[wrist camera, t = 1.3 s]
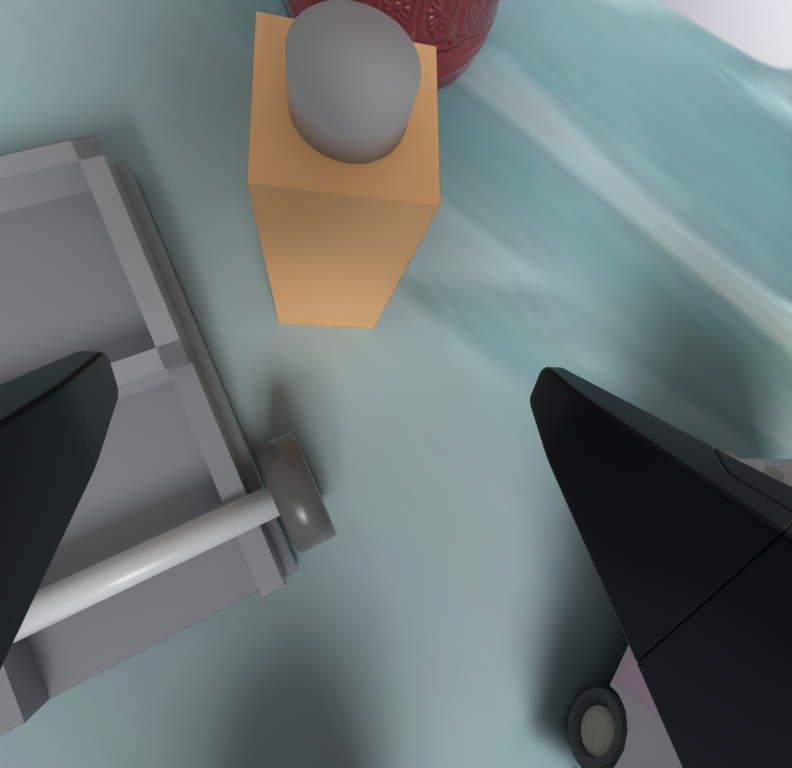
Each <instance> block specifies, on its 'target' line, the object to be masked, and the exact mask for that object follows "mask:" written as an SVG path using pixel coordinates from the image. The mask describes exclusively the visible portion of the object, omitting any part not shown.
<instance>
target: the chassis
mask: <svg viewBox="0 0 792 768" xmlns="http://www.w3.org/2000/svg"><path fill="white" fill-rule="evenodd" d="M77 351H101V352H104V353H105V354H107V356H108V357H109V360H110V363H111V366H112V369H113V373H114V376H115V379H116V382H117V386H118V400H117V403H116V406H115V409H114V412H113V416H112V419H111V422H110V425H109V428H108V431H107V434H106V438H105V441H104V444H103V447H102V450H101V453H100V456H99V459H98V462H97V465H96V467H95V469H94V472H93V474H92V476H91V479H90V481H89V483H88V485H87V487H86V489H85V491H84V493H83V496H82V498H81V500H80V502H79V504H78V506H77V508H76V510H75V513H74V515H73V517H72V519H71V521H70V523H69V525H68V527H67V530H66V532H65V534H64V536H63V538H62V540H61V542H60V544H59V546H58V549H57V551H56V553H55V555H54V557H53V559H52V561H51V563H50V566H49V568H48V570H47V572H46V574H45V576H44V578H43V580H42V583H41V585H40V587H39V589H38V591H37V593H36V595H35V597H34V600H33V602H32V604H31V606H30V608H29V610H28V612H27V614H26V617H25V619H24V621H23V623H22V625H21V627H20V629H19V631H18V633H17V636H16V638H15V640H14V642H13V644H12V646H11V648H10V650H9V653H8V655H7V657H6V659H5V661H4V663H3V665H2V667H1V670H0V735H2V734H4V733H6V732H8V731H10V730H12V729H13V728H15V727H17V726H19V725H21V724H23V723H25V722H26V721H27V720H28V719H29V718H30V717H31V716H32V715H33V714H34V713H35V712H36V711H37V710H38V709H39V708H40V707H41V706H42V705H43V704H44V703H45V702H47V701H48V700H49V699H50V698H52V697H54V696H56V695H58V694H60V693H62V692H64V691H66V690H67V689H69V688H71V687H73V686H75V685H77V684H79V683H81V682H83V681H85V680H87V679H89V678H91V677H93V676H95V675H96V674H98V673H100V672H102V671H104V670H106V669H108V668H110V667H112V666H114V665H116V664H118V663H120V662H122V661H123V660H125V659H127V658H129V657H131V656H133V655H135V654H137V653H139V652H141V651H143V650H145V649H147V648H149V647H151V646H152V645H154V644H156V643H158V642H160V641H162V640H164V639H166V638H168V637H170V636H172V635H174V634H176V633H178V632H180V631H181V630H183V629H185V628H187V627H189V626H191V625H193V624H195V623H197V622H199V621H201V620H203V619H205V618H207V617H208V616H210V615H212V614H214V613H216V612H218V611H220V610H222V609H224V608H226V607H228V606H230V605H232V604H234V603H236V602H237V601H239V600H241V599H243V598H245V597H247V596H249V595H251V594H253V593H255V592H257V591H259V592H260V594H261V597H262V598H264V597H266V596H268V595H269V594H271V593H273V592H275V591H277V590H279V589H281V588H283V587H285V583H286V577H287V576H288V575H290V574H292V573H293V572H295V571H297V563H296V560H295V558H294V556H293V553H292V551H291V548H290V546H289V544H288V541H287V539H286V536H285V534H284V532H283V529H282V527H281V525H280V522H279V520H278V516H281V519H282V521H283V523H284V525H285V527H286V529H287V531H288V533H289V535H290V537H291V539H292V541H293V543H294V544H295V546H296V548H297V549H298V550H299V551H300V552H301V553H302V552H304V551H306V550H308V549H310V548H312V547H314V546H316V545H318V544H319V543H321V542H323V541H325V540H327V539H329V538H331V537H333V536H335V535H337V534H336V531H335V529H334V526H333V524H332V521H331V519H330V516H329V514H328V511H327V509H326V507H325V504H324V502H323V499H322V497H321V495H320V492H319V490H318V487H317V485H316V483H315V480H314V478H313V476H312V473H311V471H310V469H309V466H308V464H307V462H306V459H305V457H304V455H303V453H302V450H301V448H300V446H299V444H298V441H297V439H296V437H295V435H294V433H293V431H290V432H287V433H285V434H283V435H280V436H278V437H276V438H273V439H271V440H269V441H266V442H264V443H262V444H259V445H257V453H258V457H259V461H260V464H261V467H262V470H263V474H264V476H265V479H266V482H267V485H268V486H266V487H265V486H264V484H263V482H262V479H261V477H260V474H259V472H258V470H257V467H256V465H255V462H254V460H253V458H252V455H251V453H250V451H249V448H248V446H247V443H246V441H245V439H244V436H243V434H242V431H241V429H240V427H239V424H238V422H237V420H236V417H235V415H234V412H233V410H232V408H231V405H230V403H229V400H228V398H227V396H226V393H225V391H224V389H223V386H222V384H221V381H220V379H219V377H218V374H217V372H216V369H215V367H214V365H213V362H212V360H211V358H210V355H209V353H208V350H207V348H206V346H205V343H204V341H203V338H202V336H201V334H200V331H199V329H198V326H197V324H196V322H195V319H194V317H193V315H192V312H191V310H190V307H189V305H188V303H187V300H186V298H185V295H184V293H183V291H182V288H181V286H180V284H179V281H178V279H177V276H176V274H175V272H174V269H173V267H172V264H171V262H170V260H169V257H168V255H167V253H166V250H165V248H164V245H163V243H162V241H161V238H160V236H159V233H158V231H157V229H156V226H155V224H154V222H153V219H152V217H151V214H150V212H149V210H148V207H147V205H146V202H145V200H144V198H143V195H142V193H141V191H140V188H139V186H138V183H137V181H136V179H135V176H134V174H133V173H132V171H131V170H130V168H129V166H128V165H127V163H126V162H125V163H120V164H116V165H115V164H114V162H113V161H112V159H111V158H110V156H109V155H108V153H107V152H106V151H105V149H104V148H103V146H102V145H101V143H100V142H99V140H98V139H97V137H96V136H95V135H93V136H89V137H84V138H80V139H75V140H70V141H66V142H61V143H57V144H52V145H48V146H43V147H38V148H34V149H29V150H25V151H20V152H16V153H11V154H7V155H2V156H0V384H2V383H5V382H7V381H9V380H12V379H14V378H16V377H19V376H21V375H23V374H26V373H28V372H30V371H33V370H35V369H37V368H40V367H42V366H44V365H47V364H49V363H51V362H54V361H56V360H58V359H61V358H63V357H65V356H68V355H70V354H72V353H75V352H77Z"/></svg>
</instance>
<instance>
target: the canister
mask: <svg viewBox="0 0 792 768" xmlns="http://www.w3.org/2000/svg"><path fill="white" fill-rule="evenodd" d="M324 1H329V0H285V3H286V7H287V11H288V14H289V17H290V18H293V19H296V17H297V16H298V15H299V14H300V13H301V12H303V11H304V10H306V9H307V8H309V7H311V6H313V5H315V4H318V3H320V2H324ZM350 1H356V2H360V3H364V4H367V5H369V6H372V7H374V8H376V9H378V10H380V11H382V12H383V13H385V14H387V15H388V16H389V17H391V18H392V19H393V20H395V21H396V22H397V23H398V24H399V25H400V26H401V27H402V28H403V29H404V31H405V32H406V33H407V34H408V36H409V37H410V39H411V40H412V42H415V43H420V44H425V45H430V46H435V47H436V60H437V89H439V88H442V87H444V86H446V85H447V84H449V83H451V82H452V81H454V80H455V79H456V78H458V77H459V76H460V75H461V74H462V73H463V72H464V71H465V70H466V68H467V67H468V66H469V64H470V63H471V61H472V59H473V58H474V57H475V55H476V54H477V53H478V52H479V50H480V49H481V47H482V46H483V44H484V42H485V40H486V38H487V36H488V33H489V31H490V29H491V27H492V24H493V22H494V19H495V16H496V12H497V7H498V2H499V0H350Z"/></svg>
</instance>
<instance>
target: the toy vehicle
mask: <svg viewBox="0 0 792 768" xmlns="http://www.w3.org/2000/svg"><path fill="white" fill-rule="evenodd" d="M722 452H724V453H726V454H728V455H730V456H731V457H733V458H735V459H737V460H739V461H741V462H743V463H745V464H747V465H749V466H751V467H753V468H755V469H757V470H759V471H761V472H763V473H765V474H767V475H769V476H771V477H773V478H775V479H777V480H779V481H781V482H783V483H785V484H787V485H789V486H791V487H792V460H791V459H744V458H738V457H737V456H736V455H735V454H733V453H732V452H731V451H722ZM637 663H638V662H637V661H636V660H635V658H634V656H633V653H632V651H631V649H630V646H629V645H628V647H627V649H626V652H625V654H624V656H623V658H622V660H621V662H620V665H619V667H618V669H617V671H616V673H615V675H614V678H613V680H612V682H611V684H610V686H611V687H612V688H613V689H614V690H615V691H616V692H617V693H618V694H619V696H618V695H617V694H615V693H613V692H611V691H609V690H606V689H602V688H593V689H589V690H585V691H584V692H583V693H582V694H581V695H579V696H578V697H577V699H576V700H575V702H574V703H573V705H572V707H571V711H570V714H569V717H568V724H567V735H568V743H569V745H570V748H571V750H572V752H573V755H574V757H575V759H576V760H577V762H578V764H579V765H580V766H581V767H582V768H682V766H681V763H680V761H679V759H678V757H677V754H676V752H675V750H674V747H673V745H672V743H671V741H670V738H669V736H668V734H667V731H666V729H665V727H664V725H663V722H662V720H661V718H660V715H659V713H658V711H657V709H656V706H655V704H654V702H653V699H652V697H651V695H650V693H649V690H648V688H647V686H646V683H645V681H644V679H643V677H642V674H641V672H640V670H639V668H638V665H637ZM572 768H576V767H574V766H572Z"/></svg>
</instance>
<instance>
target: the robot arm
mask: <svg viewBox="0 0 792 768" xmlns="http://www.w3.org/2000/svg"><path fill="white" fill-rule="evenodd" d="M117 400H118V386H117V382H116V379H115V376H114V373H113V369H112V366H111V363H110V360H109V357H108V356H107V354H105V353H104V352H101V351H77V352H75V353H72V354H70V355H68V356H65V357H63V358H61V359H58V360H56V361H54V362H51V363H49V364H47V365H44V366H42V367H40V368H37V369H35V370H33V371H30V372H28V373H26V374H23V375H21V376H19V377H16V378H14V379H12V380H9V381H7V382H5V383H2V384H0V670H1V667H2V665H3V663H4V661H5V659H6V657H7V655H8V653H9V650H10V648H11V646H12V644H13V642H14V640H15V638H16V636H17V633H18V631H19V629H20V627H21V625H22V623H23V621H24V619H25V617H26V614H27V612H28V610H29V608H30V606H31V604H32V602H33V600H34V597H35V595H36V593H37V591H38V589H39V587H40V585H41V583H42V580H43V578H44V576H45V574H46V572H47V570H48V568H49V566H50V563H51V561H52V559H53V557H54V555H55V553H56V551H57V549H58V546H59V544H60V542H61V540H62V538H63V536H64V534H65V532H66V530H67V527H68V525H69V523H70V521H71V519H72V517H73V515H74V513H75V510H76V508H77V506H78V504H79V502H80V500H81V498H82V496H83V493H84V491H85V489H86V487H87V485H88V483H89V481H90V479H91V476H92V474H93V472H94V469H95V467H96V465H97V462H98V459H99V456H100V453H101V450H102V447H103V444H104V441H105V438H106V434H107V431H108V428H109V425H110V422H111V419H112V416H113V412H114V409H115V406H116V403H117ZM530 405H531V408H532V412H533V415H534V418H535V421H536V424H537V428H538V431H539V434H540V437H541V440H542V444H543V447H544V450H545V453H546V456H547V459H548V461H549V464H550V466H551V469H552V471H553V473H554V475H555V478H556V480H557V482H558V485H559V487H560V489H561V491H562V494H563V496H564V498H565V501H566V503H567V505H568V507H569V510H570V512H571V514H572V516H573V519H574V521H575V523H576V526H577V528H578V530H579V532H580V535H581V537H582V539H583V542H584V544H585V546H586V548H587V551H588V553H589V555H590V558H591V560H592V562H593V564H594V567H595V569H596V571H597V573H598V576H599V578H600V580H601V583H602V585H603V587H604V589H605V592H606V594H607V596H608V599H609V601H610V603H611V605H612V608H613V610H614V612H615V615H616V617H617V619H618V621H619V624H620V626H621V628H622V630H623V633H624V635H625V637H626V640H627V642H628V644H629V646H630V649H631V651H632V653H633V656H634V658H635V660H636V661H637V662H638V663H637V665H638V668H639V670H640V672H641V674H642V677H643V679H644V681H645V683H646V686H647V688H648V690H649V693H650V695H651V697H652V699H653V702H654V704H655V706H656V709H657V711H658V713H659V715H660V718H661V720H662V722H663V725H664V727H665V729H666V731H667V734H668V736H669V738H670V741H671V743H672V745H673V747H674V750H675V752H676V754H677V757H678V759H679V761H680V763H681V766H682V768H792V487H791V486H789V485H787V484H785V483H783V482H781V481H779V480H777V479H775V478H773V477H771V476H769V475H767V474H765V473H763V472H761V471H759V470H757V469H755V468H753V467H751V466H749V465H747V464H745V463H743V462H741V461H739V460H737V459H735V458H733V457H731V456H730V455H728V454H726V453H724V452H722V451H720V450H718V449H713V447H712V446H710V445H708V444H706V443H705V442H703V441H701V440H699V439H697V438H695V437H693V436H691V435H689V434H687V433H686V432H684V431H682V430H680V429H678V428H676V427H674V426H672V425H670V424H668V423H666V422H665V421H663V420H661V419H659V418H657V417H655V416H653V415H651V414H649V413H647V412H645V411H644V410H642V409H640V408H638V407H636V406H634V405H632V404H630V403H628V402H626V401H624V400H623V399H621V398H619V397H617V396H615V395H613V394H611V393H609V392H607V391H605V390H604V389H602V388H600V387H598V386H596V385H594V384H592V383H590V382H588V381H586V380H584V379H583V378H581V377H579V376H577V375H575V374H573V373H571V372H569V371H567V370H565V369H563V368H560V367H545V368H544V369H542V371H541V372H540V374H539V377H538V379H537V381H536V384H535V386H534V389H533V391H532V394H531V397H530Z"/></svg>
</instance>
